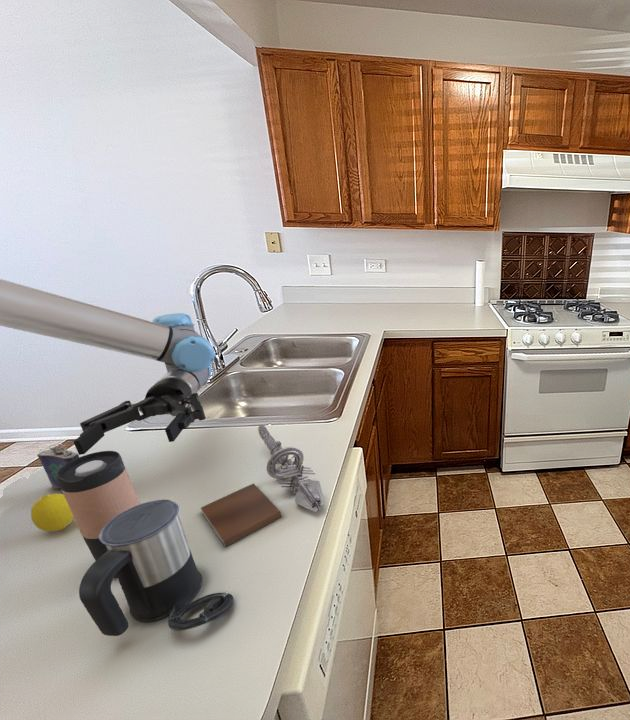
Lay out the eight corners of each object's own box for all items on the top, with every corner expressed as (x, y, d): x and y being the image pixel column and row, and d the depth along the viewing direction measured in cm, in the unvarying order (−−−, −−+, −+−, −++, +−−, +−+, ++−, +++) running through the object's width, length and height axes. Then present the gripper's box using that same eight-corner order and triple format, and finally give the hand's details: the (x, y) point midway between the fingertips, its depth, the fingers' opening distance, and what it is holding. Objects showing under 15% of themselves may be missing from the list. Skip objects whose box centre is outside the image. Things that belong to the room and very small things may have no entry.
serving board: (202, 513, 79) (200, 507, 79) (255, 488, 86) (253, 483, 86) (225, 547, 71) (223, 541, 71) (281, 517, 78) (280, 511, 78)
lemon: (51, 523, 77) (35, 489, 74) (87, 515, 79) (73, 482, 76) (33, 544, 72) (15, 509, 69) (72, 535, 74) (56, 501, 71)
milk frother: (151, 574, 66) (122, 503, 61) (254, 557, 69) (235, 488, 64) (94, 664, 53) (52, 583, 48) (224, 637, 56) (198, 558, 51)
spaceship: (278, 412, 102) (245, 412, 96) (343, 487, 80) (305, 492, 74) (270, 440, 103) (237, 441, 97) (332, 521, 81) (294, 529, 75)
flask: (49, 489, 86) (30, 447, 83) (65, 480, 89) (47, 439, 85) (84, 494, 85) (65, 452, 81) (98, 485, 87) (81, 444, 84)
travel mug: (145, 537, 74) (109, 445, 67) (165, 554, 70) (129, 458, 63) (92, 566, 68) (46, 469, 60) (110, 587, 64) (64, 485, 57)
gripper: (237, 399, 95) (209, 447, 76) (112, 415, 88) (46, 471, 69) (230, 371, 92) (199, 413, 73) (100, 384, 85) (29, 434, 66)
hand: (125, 441), depth 71 cm, fingers open, 13 cm apart
